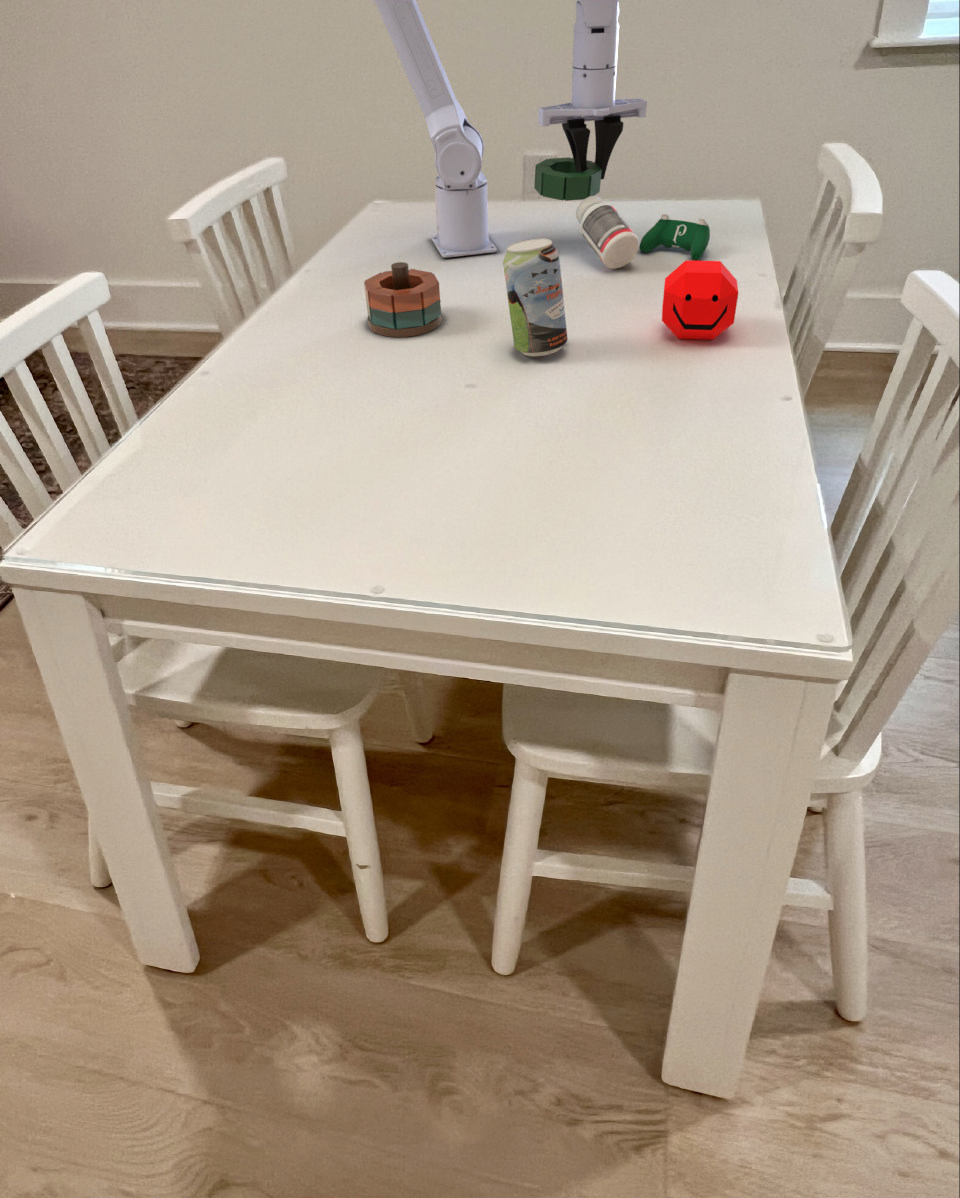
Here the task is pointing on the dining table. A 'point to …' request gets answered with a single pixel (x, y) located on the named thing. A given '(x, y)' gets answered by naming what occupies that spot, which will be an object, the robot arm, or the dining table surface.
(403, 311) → the ring stack
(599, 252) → the pill bottle
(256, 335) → the dining table surface
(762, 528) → the dining table surface
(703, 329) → the ball
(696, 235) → the gaming controller
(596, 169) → the green ring
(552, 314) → the beverage can
